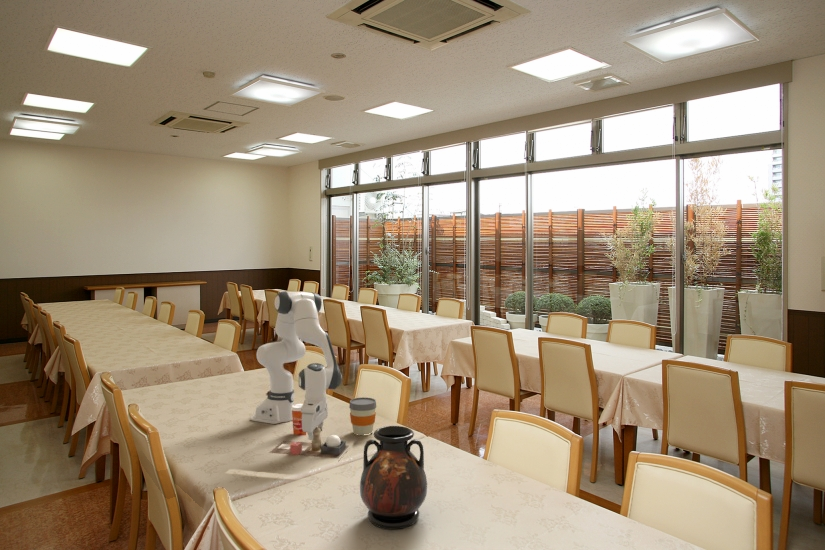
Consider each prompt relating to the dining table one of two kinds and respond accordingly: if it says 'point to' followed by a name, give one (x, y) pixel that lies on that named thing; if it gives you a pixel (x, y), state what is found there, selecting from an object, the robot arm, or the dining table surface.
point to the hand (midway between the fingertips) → (315, 435)
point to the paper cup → (297, 420)
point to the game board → (307, 449)
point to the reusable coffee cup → (362, 415)
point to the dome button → (333, 441)
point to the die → (295, 448)
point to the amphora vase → (393, 479)
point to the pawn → (316, 439)
